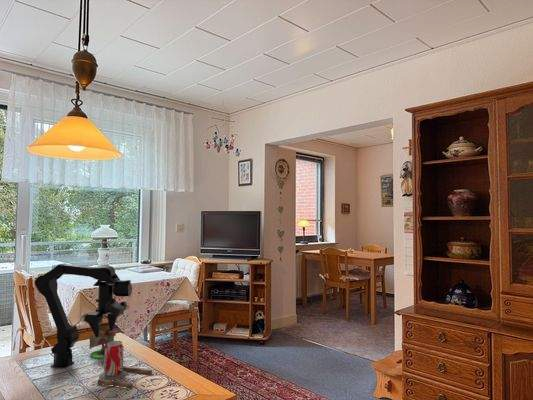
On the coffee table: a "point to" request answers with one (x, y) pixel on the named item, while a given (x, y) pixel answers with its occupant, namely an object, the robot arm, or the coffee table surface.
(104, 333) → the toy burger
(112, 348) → the soda can
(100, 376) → the coaster
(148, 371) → the rail
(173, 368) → the coffee table surface
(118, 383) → the rail
